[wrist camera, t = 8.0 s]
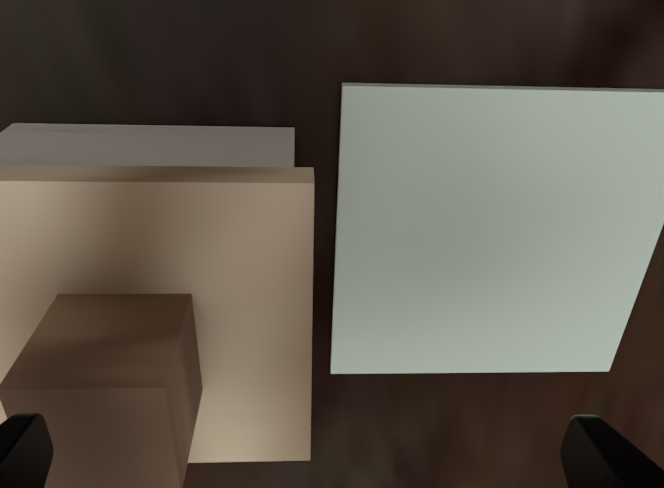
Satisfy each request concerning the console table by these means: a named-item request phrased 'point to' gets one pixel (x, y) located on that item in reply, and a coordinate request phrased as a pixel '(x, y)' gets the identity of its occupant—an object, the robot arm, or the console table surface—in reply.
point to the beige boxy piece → (147, 145)
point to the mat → (492, 225)
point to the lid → (157, 316)
